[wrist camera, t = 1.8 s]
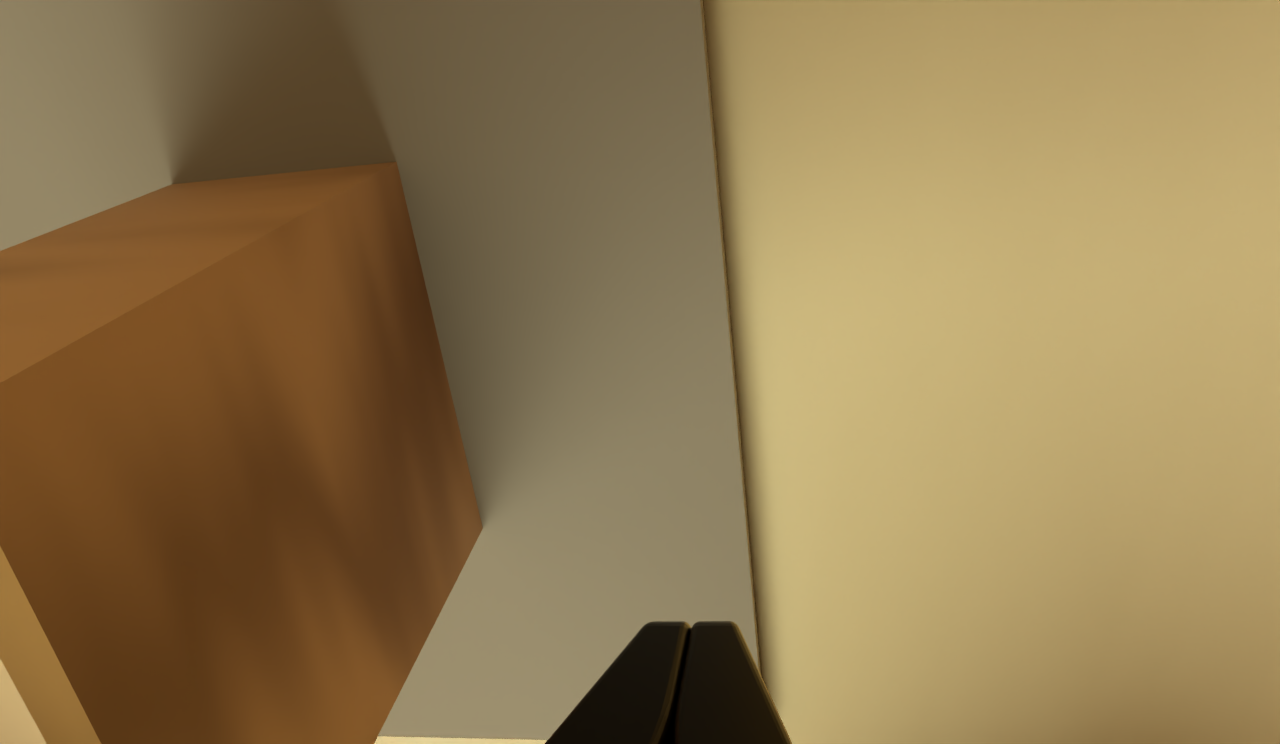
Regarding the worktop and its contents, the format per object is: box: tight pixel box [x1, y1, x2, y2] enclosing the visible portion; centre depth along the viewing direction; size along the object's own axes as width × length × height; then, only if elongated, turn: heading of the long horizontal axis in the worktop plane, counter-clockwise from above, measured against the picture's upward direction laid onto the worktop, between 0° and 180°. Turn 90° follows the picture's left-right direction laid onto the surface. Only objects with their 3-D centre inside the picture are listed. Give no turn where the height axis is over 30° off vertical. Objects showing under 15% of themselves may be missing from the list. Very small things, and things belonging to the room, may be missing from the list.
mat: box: [0, 0, 761, 740], centre depth 17 cm, size 18×22×1 cm
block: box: [0, 162, 483, 744], centre depth 12 cm, size 7×4×9 cm, turn 7°
